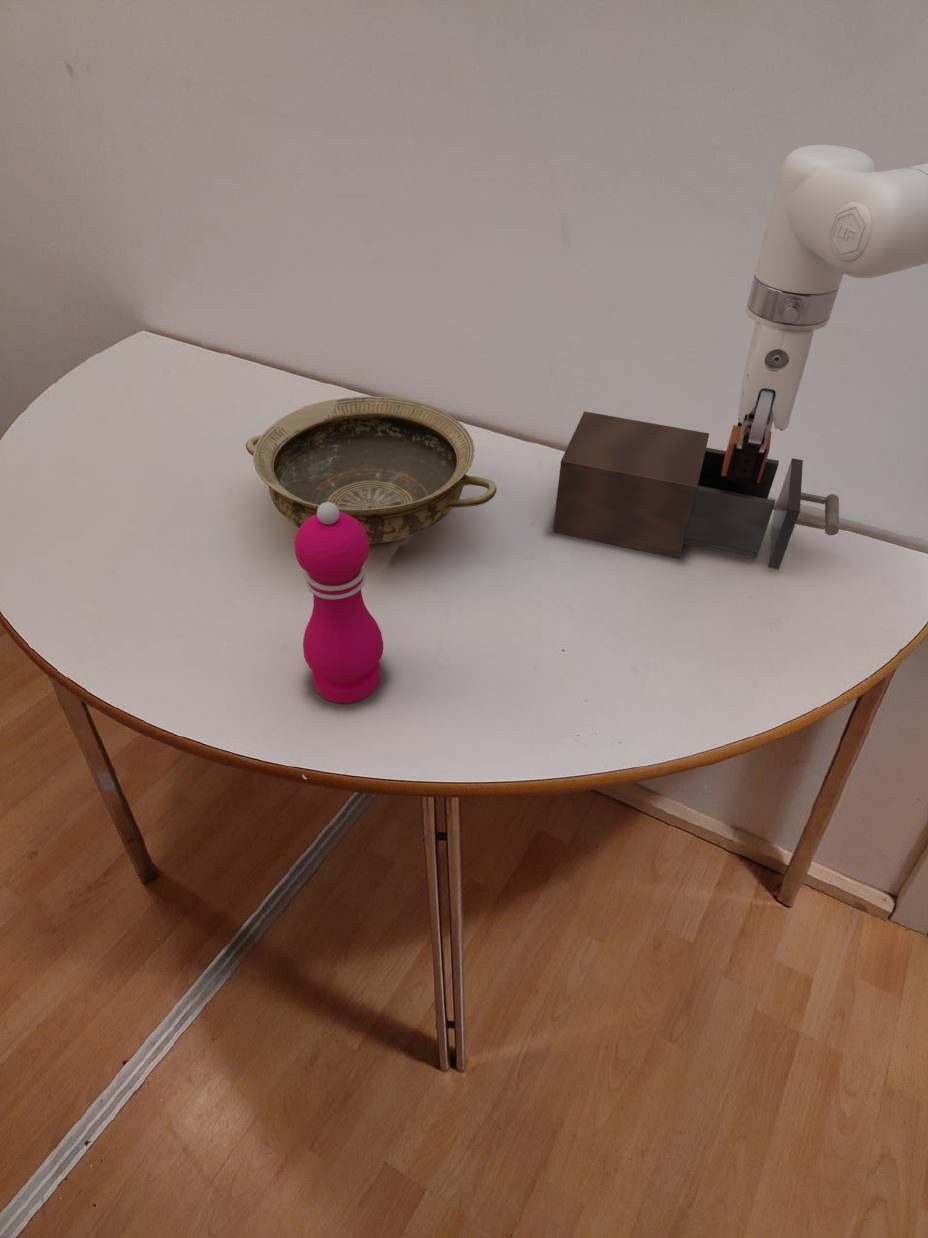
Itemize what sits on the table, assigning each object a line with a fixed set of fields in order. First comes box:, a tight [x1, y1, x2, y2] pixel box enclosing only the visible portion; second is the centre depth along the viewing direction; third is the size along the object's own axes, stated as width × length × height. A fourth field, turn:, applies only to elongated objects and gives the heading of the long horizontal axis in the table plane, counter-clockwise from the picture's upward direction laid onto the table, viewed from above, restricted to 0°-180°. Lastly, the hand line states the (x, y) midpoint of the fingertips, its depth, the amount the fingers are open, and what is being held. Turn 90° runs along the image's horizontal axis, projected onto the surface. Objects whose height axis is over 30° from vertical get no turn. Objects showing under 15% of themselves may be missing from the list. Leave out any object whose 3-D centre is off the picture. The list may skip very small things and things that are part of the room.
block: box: [721, 424, 773, 483], centre depth 87 cm, size 4×4×4 cm
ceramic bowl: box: [245, 395, 497, 545], centre depth 93 cm, size 30×24×10 cm
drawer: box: [683, 447, 840, 570], centre depth 91 cm, size 18×10×8 cm, turn 71°
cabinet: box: [552, 410, 710, 559], centre depth 94 cm, size 15×12×10 cm
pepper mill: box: [294, 502, 384, 704], centre depth 71 cm, size 7×7×20 cm
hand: (742, 467), depth 88 cm, fingers closed on block, 4 cm apart
